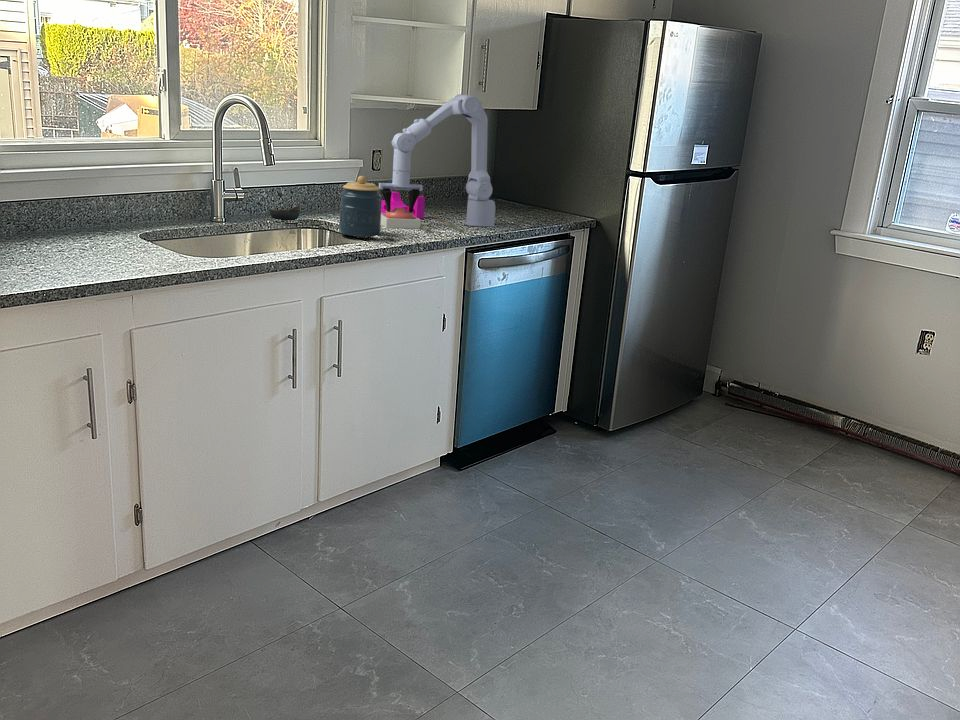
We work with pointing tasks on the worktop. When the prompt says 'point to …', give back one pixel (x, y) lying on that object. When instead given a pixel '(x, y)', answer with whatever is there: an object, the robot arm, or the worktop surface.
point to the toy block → (397, 202)
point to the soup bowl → (286, 214)
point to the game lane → (444, 223)
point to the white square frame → (400, 222)
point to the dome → (399, 214)
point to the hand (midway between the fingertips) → (399, 212)
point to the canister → (360, 209)
